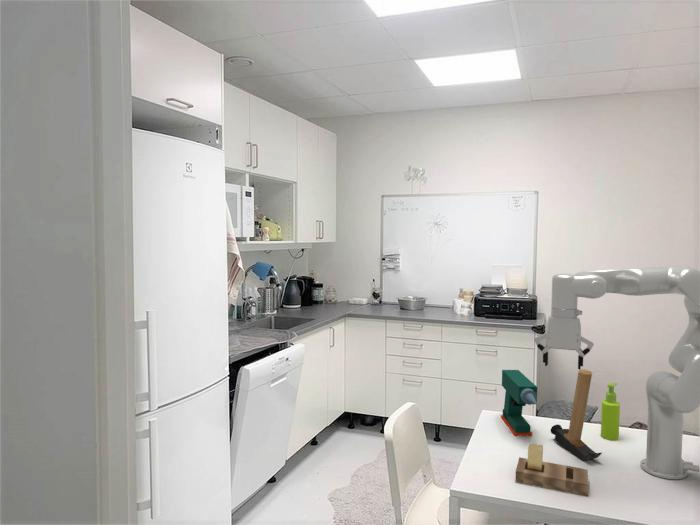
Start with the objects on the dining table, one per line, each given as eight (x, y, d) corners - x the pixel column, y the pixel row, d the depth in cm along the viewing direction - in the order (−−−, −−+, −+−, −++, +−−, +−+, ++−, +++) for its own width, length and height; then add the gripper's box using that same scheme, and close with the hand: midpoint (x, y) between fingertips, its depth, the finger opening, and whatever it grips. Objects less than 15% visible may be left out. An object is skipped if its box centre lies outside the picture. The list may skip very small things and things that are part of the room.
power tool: (547, 452, 174) (548, 395, 173) (526, 452, 174) (527, 395, 173) (518, 417, 206) (519, 369, 204) (500, 417, 206) (501, 369, 205)
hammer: (599, 468, 167) (614, 386, 160) (586, 470, 166) (600, 387, 158) (561, 433, 186) (573, 358, 179) (549, 435, 185) (560, 359, 177)
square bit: (542, 476, 157) (542, 445, 156) (541, 482, 154) (541, 450, 153) (528, 474, 159) (529, 443, 158) (527, 479, 155) (528, 448, 155)
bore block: (587, 480, 155) (587, 469, 154) (588, 496, 146) (588, 484, 145) (519, 467, 163) (519, 457, 163) (515, 482, 154) (515, 470, 154)
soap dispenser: (621, 436, 187) (623, 383, 186) (616, 442, 182) (618, 387, 181) (604, 431, 191) (605, 380, 190) (598, 437, 186) (600, 384, 185)
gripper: (594, 313, 159) (592, 366, 160) (535, 309, 166) (534, 360, 167) (594, 317, 152) (593, 372, 153) (533, 313, 159) (532, 366, 160)
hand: (562, 366), depth 160 cm, fingers open, 9 cm apart
